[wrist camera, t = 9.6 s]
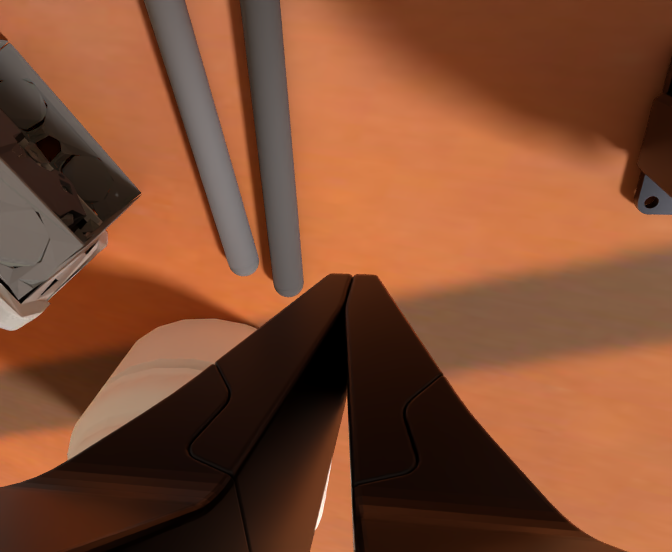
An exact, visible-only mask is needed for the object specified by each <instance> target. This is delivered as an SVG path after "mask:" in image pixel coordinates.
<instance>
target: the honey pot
mask: <svg viewBox="0 0 672 552" xmlns="http://www.w3.org/2000/svg"><path fill="white" fill-rule="evenodd" d="M256 330H257V329H256V328H254V327H252V326H249V325H246V324H241V323H236V322H231V321H225V320H220V319H215V318H214V319H184V320H180V321H177V322H173V323H170V324H166V325H163V326H159V327H157V328H155V329H154V330H152V331H151V332H149V333H148V334H146V335H144V336H143V337H141V338H140V339H138V340H137V341H136V343H135V344H134V345H133V347H132V348H131V349H130V351H129V352H128V353H127V355H126V356H125V357H124V359H123V360H122V361H121V363H120V364H119V365H118V367H117V368H116V370H115V371H114V372H113V374H112V375H111V376H110V378H109V379H108V380H107V382H106V383H105V385H104V386H103V387H102V389H101V390H100V391H99V393H98V394H97V395H96V397H95V398H94V400H93V401H92V402H91V404H90V405H89V406H88V408H87V409H86V410H85V412H84V413H83V414H82V416H81V417H80V418H79V420H78V421H77V423H76V425H75V427H74V429H73V432H72V435H71V439H70V444H69V449H68V454H67V455H68V460H69V459H71V458H72V457H74V456H75V455H77V454H79V453H80V452H82V451H83V450H85V449H87V448H88V447H90V446H91V445H93V444H95V443H96V442H98V441H99V440H101V439H102V438H104V437H106V436H107V435H109V434H110V433H112V432H114V431H115V430H117V429H118V428H120V427H121V426H123V425H125V424H126V423H128V422H129V421H131V420H133V419H134V418H136V417H137V416H139V415H141V414H142V413H144V412H145V411H147V410H148V409H150V408H151V407H153V406H154V405H156V404H157V403H159V402H160V401H162V400H163V399H165V398H166V397H168V396H169V395H171V394H172V393H174V392H175V391H176V390H178V389H179V388H181V387H182V386H183V385H185V384H186V383H187V382H189V381H190V380H192V379H193V378H194V377H196V376H197V375H198V374H200V373H201V372H202V371H204V370H205V369H206V368H207V367H209V366H210V365H211V364H215V362H216V361H217V360H218V359H219V358H221V357H222V356H223V355H225V354H226V353H227V352H229V351H230V350H231V349H232V348H234V347H235V346H236V345H238V344H239V343H240V342H242V341H243V340H244V339H245V338H247V337H248V336H249V335H251V334H252V333H253V332H255V331H256ZM68 460H67V461H68ZM331 463H332V461H331ZM330 469H331V465H330ZM330 469H329V473H330ZM328 480H329V474H328V478H327V482H326V486H325V490H324V494H323V499H322V503H321V507H320V511H319V515H318V519H317V524H316V528H317V527H318V524H319V522H320V519H321V517H322V513H323V508H324V503H325V498H326V490H327V485H328ZM316 528H315V529H316Z"/></svg>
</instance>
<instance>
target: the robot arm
mask: <svg viewBox="0 0 672 552" xmlns="http://www.w3.org/2000/svg"><path fill="white" fill-rule="evenodd" d="M637 166H638V167H639V168H640V169H641V174H640V178H639V182H638V185H637V189H636V193H635V197H634V204H635V206H636V208H637V209H638V210H639V211H641V212H642V213H644V214H663V215H672V58H671V62H670V65H669V69H668V73H667V77H666V80H665V84H664V88H663V92H662V93H661V94H660V95H659V96H657V97H656V98H655V99H654V101H653V105H652V109H651V113H650V116H649V120H648V124H647V128H646V132H645V136H644V139H643V143H642V147H641V151H640V155H639V159H638V162H637ZM651 196H655V199H654V200H653V202H652V203H650V204H646V205H645V204H644V202H645V200H646V199H647V198H649V197H651ZM346 397H347V399H348V424H349V449H350V473H351V498H352V522H353V547H354V552H627V551H624V550H621V549H619V548H616V547H614V546H611V545H608V544H606V543H603V542H601V541H599V540H597V539H595V538H593V537H591V536H589V535H588V534H586V533H584V532H583V531H582V530H580V529H579V528H578V527H576V526H575V525H573V524H572V523H571V522H570V521H569V520H568V519H567V518H565V517H564V516H563V515H562V514H561V513H560V512H559V511H558V510H557V509H556V508H555V507H554V506H553V505H552V504H551V503H550V502H549V501H548V500H547V499H546V497H545V496H544V495H543V494H542V493H541V492H540V491H539V490H538V489H537V487H536V486H535V485H534V484H533V483H532V482H531V481H530V480H529V479H528V478H527V476H526V475H525V474H524V473H523V472H522V471H521V470H520V469H519V468H518V466H517V465H516V464H515V463H514V462H513V461H512V460H511V459H510V458H509V456H508V455H507V454H506V453H505V452H504V451H503V450H502V449H501V448H500V447H499V445H498V444H497V443H496V442H495V441H494V440H493V439H492V438H491V436H490V435H489V434H488V433H487V432H486V431H485V429H484V428H483V427H482V426H481V425H480V424H479V422H478V421H477V420H476V419H475V418H474V417H473V415H472V414H471V413H470V411H469V410H468V409H467V407H466V406H465V405H464V403H463V402H462V401H461V399H460V398H459V396H458V395H457V394H456V392H455V391H454V389H453V388H452V386H451V385H450V383H449V382H448V380H447V379H446V377H444V376H443V373H442V372H441V370H440V369H439V367H438V366H437V364H436V363H435V361H434V360H433V358H432V357H431V355H430V354H429V352H428V351H427V349H426V348H425V346H424V345H423V343H422V342H421V340H420V339H419V337H418V336H417V334H416V333H415V331H414V330H413V328H412V327H411V325H410V324H409V322H408V321H407V319H406V318H405V316H404V315H403V313H402V312H401V310H400V309H399V307H398V306H397V305H396V303H395V302H394V300H393V299H392V297H391V296H390V294H389V293H388V291H387V290H386V288H385V287H384V285H383V284H382V282H381V281H380V279H379V278H378V276H376V275H367V274H356V275H354V277H352V275H350V274H329V275H327V276H326V277H325V278H323V279H322V280H321V281H320V282H318V283H317V284H316V285H314V286H313V287H312V288H310V289H309V290H308V291H307V292H305V293H304V294H303V295H301V296H300V297H299V298H297V299H296V300H295V301H294V302H292V303H291V304H290V305H288V306H287V307H286V308H284V309H283V310H282V311H281V312H279V313H278V314H277V315H275V316H274V317H273V318H271V319H270V320H269V321H268V322H266V323H265V324H264V325H262V326H261V327H260V328H258V329H257V330H256V331H255V332H253V333H252V334H251V335H249V336H248V337H247V338H245V339H244V340H243V341H242V342H240V343H239V344H238V345H236V346H235V347H234V348H232V349H231V350H230V351H229V352H227V353H226V354H225V355H223V356H222V357H221V358H219V359H218V360H217V361H216V362H215V364H211V365H210V366H209V367H207V368H206V369H205V370H204V371H202V372H201V373H200V374H198V375H197V376H196V377H194V378H193V379H192V380H190V381H189V382H187V383H186V384H185V385H183V386H182V387H181V388H179V389H178V390H176V391H175V392H174V393H172V394H171V395H169V396H168V397H166V398H165V399H163V400H162V401H160V402H159V403H157V404H156V405H154V406H153V407H151V408H150V409H148V410H147V411H145V412H144V413H142V414H141V415H139V416H137V417H136V418H134V419H133V420H131V421H129V422H128V423H126V424H125V425H123V426H121V427H120V428H118V429H117V430H115V431H114V432H112V433H110V434H109V435H107V436H106V437H104V438H102V439H101V440H99V441H98V442H96V443H95V444H93V445H91V446H90V447H88V448H87V449H85V450H83V451H82V452H80V453H79V454H77V455H75V456H74V457H72V458H71V459H69V460H68V461H66V462H64V463H63V464H61V465H59V466H57V467H56V468H54V469H52V470H50V471H48V472H46V473H44V474H42V475H40V476H37V477H35V478H32V479H29V480H26V481H23V482H20V483H16V484H12V485H8V486H4V487H0V552H310V548H311V544H312V540H313V536H314V532H315V528H316V524H317V519H318V515H319V511H320V507H321V503H322V499H323V494H324V490H325V486H326V482H327V478H328V474H329V469H330V465H331V461H332V457H333V453H334V449H335V445H336V440H337V436H338V432H339V428H340V424H341V420H342V415H343V411H344V407H345V402H346Z"/></svg>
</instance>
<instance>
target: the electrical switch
mask: <svg viewBox="0 0 672 552" xmlns="http://www.w3.org/2000/svg"><path fill="white" fill-rule="evenodd" d="M7 42H8V41H6V40H0V48H1V47H2V46H4V45H5V44H6V43H7ZM0 80H3V81H2V82H1V83H0V328H2V329H6V330H10V331H13V330H17V329H19V328H21V327H22V326H24V325H25V324H27V323H28V322H30V321H32V320H33V319H35V318H36V317H38V316H39V315H40V314H41V313H42V312H44V310H45V309H46V308H47V307H48V306H49V304H50V303H49V302H48V300H49V299H50V298H51V297H52V296H53V295H55V294H56V293H57V292H58V291H59V290H60V289H61V288H62V287H63V286H64V285H65V284H66V283H67V282H68V281H69V280H70V279H72V278H73V277H74V276H75V275H76V274H77V273H78V272H79V271H80V270H81V269H82V268H83V267H84V266H85V265H86V264H87V263H88V262H90V261H91V260H92V259H93V258H94V257H95V256H96V255H97V254H98V253H99V252H100V251H102V250H103V249H104V248H105V247H106V246H107V243H108V233H107V231H106V230H105V229H106V228H107V227H109V226H110V225H111V224H112V223H113V222H114V221H115V220H116V219H117V218H118V217H119V216H120V215H121V214H122V213H123V212H124V211H125V210H126V209H127V208H128V207H129V206H131V205H132V204H133V203H134V202H135V201H136V200H137V199H138V198H139V197H140V196H141V195H140V196H139V197H137V196H138V195H139V194H141V192H140V191H139V190H138V189H137V188H136V186H135V185H134V184H133V183H132V182H131V181H130V180H129V178H128V177H127V176H126V175H125V174H124V173H123V172H122V170H121V169H120V168H119V167H118V166H117V165H116V164H115V162H114V161H113V160H112V159H111V158H110V157H109V156H108V154H107V153H106V152H105V151H104V150H103V149H102V147H101V146H100V145H99V144H98V143H97V142H96V141H95V139H94V138H93V137H92V136H91V135H90V134H89V133H88V131H87V130H86V129H85V128H84V127H83V126H82V125H81V123H80V122H79V121H78V120H77V119H76V118H75V117H74V115H73V114H72V113H71V112H70V111H69V110H68V109H67V107H66V106H65V105H64V104H63V103H62V102H61V101H60V99H59V98H58V97H57V96H56V95H55V94H54V93H53V91H52V90H51V89H50V88H49V87H48V86H47V85H46V83H45V82H44V81H43V80H42V79H41V78H40V77H39V75H38V74H37V73H36V72H35V71H34V70H33V68H32V67H31V66H30V65H29V64H28V63H27V62H26V60H25V59H24V58H23V57H22V56H21V55H20V54H19V52H18V51H17V50H16V49H15V48H14V47H13V46H12V45H11V44H10V43H9V44H8V45H6V46H5V47H4V48H3V49H1V50H0ZM27 81H28V82H27ZM29 82H32V83H33V84H34V85H33V84H31V83H29ZM43 99H44V100H43ZM44 101H45V102H46V104H47V108H46V106H45V103H44ZM44 117H45V120H44V123H43V124H42V125H41V126H39V127H38V128H36V129H34V130H31V131H29V132H26V131H24V130H22V129H25V130H27V129H28V128H30V127H32V126H33V125H35V124H37V123H38V122H40V121H42V120H43V118H44ZM28 135H29V136H28ZM47 136H51V137H53V138H55V139H57V140H58V141H59V143H60V145H61V151H60V152H59V153H58V154H57V156H56V157H55V158H54V159H53V160H52V161H51V162H49V161H48V160H47V158H46V157H45V156H44V155H43V153H42V152H41V151H40V149H39V148H38V147H37V146H36V144H35V143H36V142H38V141H40V140H42V139H44V138H45V137H47ZM72 155H80V156H74V157H73V158H72V159H71V160H70V161H69V162H68V163H67V164H66V166H65V167H64V168H63V169H62V172H63V173H61V167H62V166H63V164H64V162H65V161H66V159H67V158H69V157H70V156H72ZM98 158H100V160H101V161H102V162H101V161H100V160H99V159H98ZM56 166H57V167H58V168H57V167H56ZM108 191H109V192H108ZM136 197H137V198H136ZM134 198H136V199H134ZM133 199H134V200H133ZM132 200H133V201H132ZM129 202H130V203H129ZM91 203H93V204H91ZM92 209H94V210H95V212H96V213H97V215H98V216H97V215H96V214H95V213H94V212H93V210H92Z"/></svg>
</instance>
